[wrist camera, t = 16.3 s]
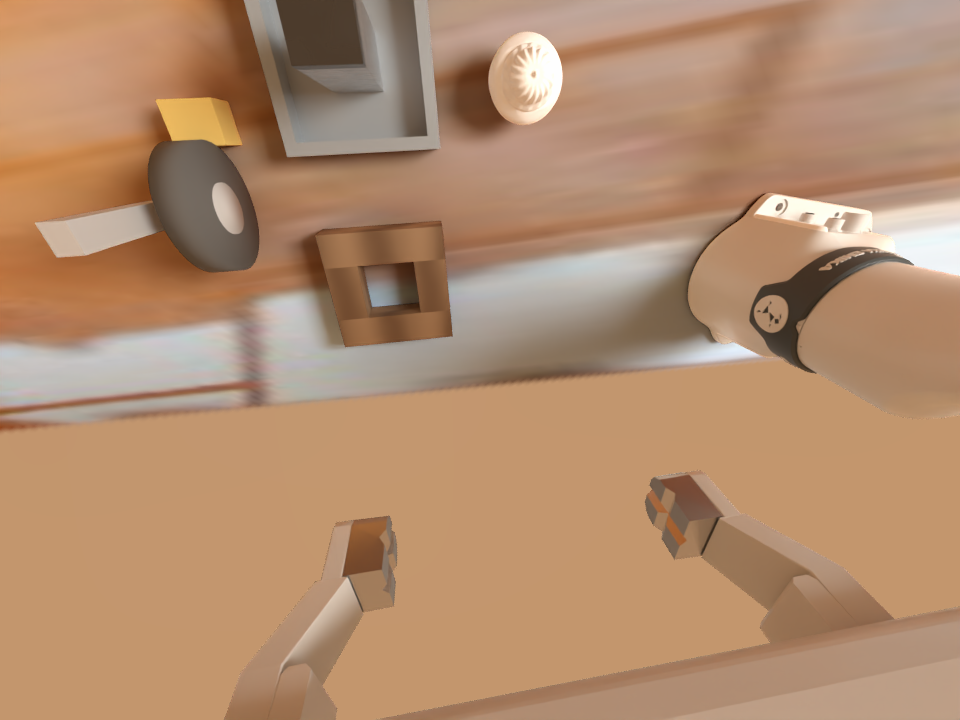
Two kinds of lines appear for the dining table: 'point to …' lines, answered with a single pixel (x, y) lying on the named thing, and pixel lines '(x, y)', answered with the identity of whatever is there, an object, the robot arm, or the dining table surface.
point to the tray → (355, 116)
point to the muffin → (525, 78)
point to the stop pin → (332, 43)
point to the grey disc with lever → (178, 196)
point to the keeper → (386, 246)
